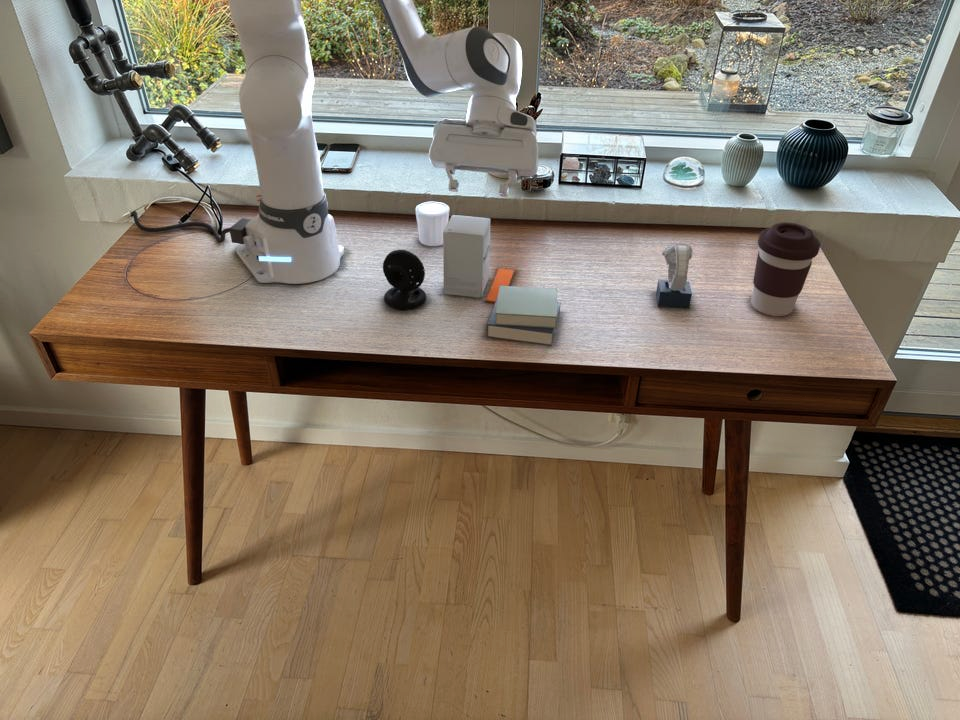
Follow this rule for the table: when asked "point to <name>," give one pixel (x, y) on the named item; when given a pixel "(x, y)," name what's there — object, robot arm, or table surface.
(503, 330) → the book stack
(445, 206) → the white cup
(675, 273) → the watch
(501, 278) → the orange rectangular block
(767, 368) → the table surface
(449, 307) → the table surface
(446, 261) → the white packaging box
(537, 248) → the table surface
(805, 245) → the coffee cup
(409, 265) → the webcam
